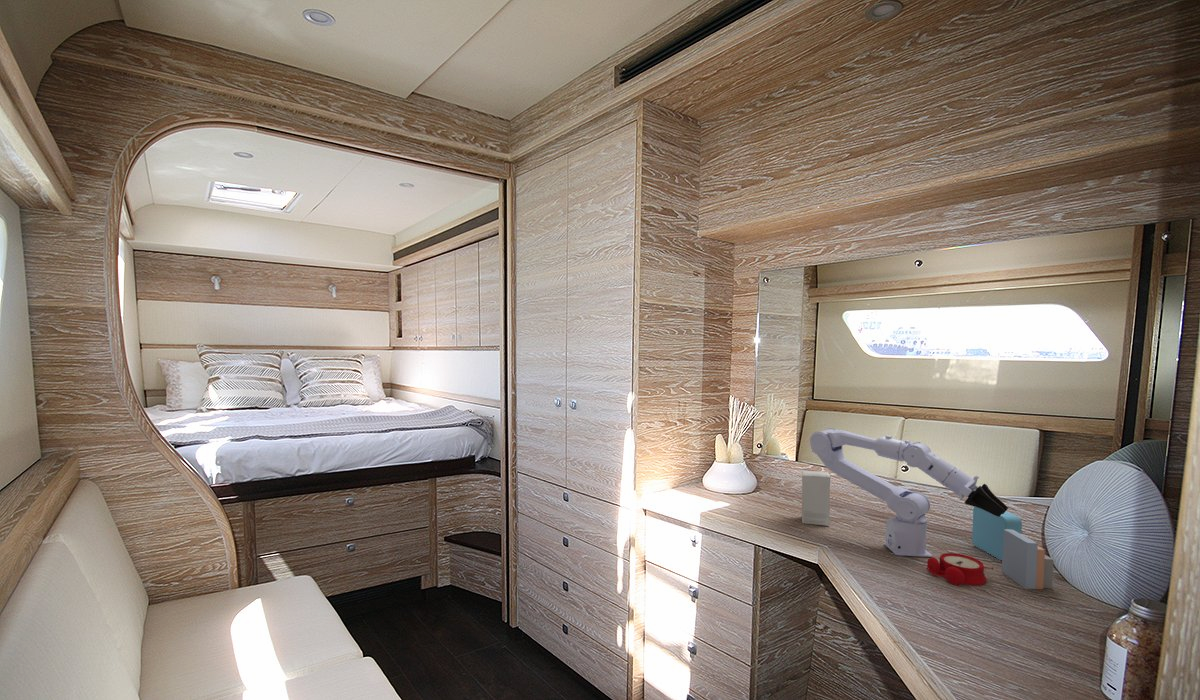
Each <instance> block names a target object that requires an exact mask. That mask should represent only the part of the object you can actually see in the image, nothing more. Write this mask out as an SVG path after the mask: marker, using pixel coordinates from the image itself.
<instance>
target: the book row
mask: <svg viewBox="0 0 1200 700" xmlns="http://www.w3.org/2000/svg"><path fill="white" fill-rule="evenodd" d="M1001 573H1003V574H1004V575H1005V576H1007V577H1008V578H1010V579H1011V580H1013V581H1014V582H1015V583H1017V584H1018V585H1020V586H1021V587H1023V588H1024V589H1027V590H1044V589H1053V577H1054V574H1053V573H1054V558H1052V557H1050V556H1048V555H1046V549H1045V548H1042V547H1041V546H1039V543H1038V542H1035V541H1034V540H1032V539H1030V538H1029V537H1027V536H1025V535H1024V534H1020V533H1018V532H1016V531H1015V530H1010V529H1004V535H1003V556H1002V561H1001Z"/></svg>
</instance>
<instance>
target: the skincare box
mask: <svg viewBox="0 0 1200 700" xmlns="http://www.w3.org/2000/svg"><path fill="white" fill-rule="evenodd" d="M830 492H831V475H830V473H829V472H828V471H814V470H801V522H802V524H804V523H805V524H807V525H817V526H825V527H830V522H831V521H830V518H831V515H830V514H831V512H830V510H831V508H830V505H831V504H830V503H831V497H830V495H831V493H830Z"/></svg>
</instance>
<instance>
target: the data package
mask: <svg viewBox="0 0 1200 700" xmlns="http://www.w3.org/2000/svg"><path fill="white" fill-rule="evenodd" d="M971 529H972V531H971V532H972V533H971V541H972V544H973V546H974V545H975V546H976V547H975V546H974V547H975V548H977V547H978V548H977V549H979V548H980V549H979V550H981V549H982V550H984V551H986V552H987V554H988V553H989V554H988V555H990V554H991V555H990V556H992V557H993V556H994V557H993V558H995V557H996V558H995V559H997V560H1000V561H1001V560H1002V556H1003V535H1004V529H1010V530H1015V531H1016V532H1018V533H1020V534H1022V531H1023V522H1022V519H1021V518H1020V517H1019V516H1018V515H1015V514H1014V513H1011V512H1009V511H1007V510H1006V511H1005V513H1004V514H1001V516H1000V517H998V516H995V515H993V514H991V513H989V512H987V511H985V510H983V509H980V508H978V507H975V506H973V510H972V528H971ZM1022 535H1023V534H1022ZM982 550H981V551H982ZM984 551H983V552H984ZM986 552H985V553H986Z"/></svg>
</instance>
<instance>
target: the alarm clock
mask: <svg viewBox="0 0 1200 700" xmlns="http://www.w3.org/2000/svg"><path fill="white" fill-rule="evenodd" d="M926 563H927V564H926V566H927V567H926V568H925V569H926V570H927V571H928V572H929V573H930V574H931V573H932V574H931V575H933V576H937V577H942V578H944V579H945V580H946V582H948V583H949V584H951V585H953V586H961V585H968V586H982V585H985V584H986V583H987V582H988V581H987V577H986V575H985V569H988V570H994V567H987V566H986V567H985V565H984V563H983V562H982V561H981V560H979V559H976V558H975V557H973V556H969V555H965V554H961V553H954V552H946V553H945V552H944V553H942V554H941V555H939V560H938V559H937V558H936V557H933V556H932V557H928V559H927V562H926Z"/></svg>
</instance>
